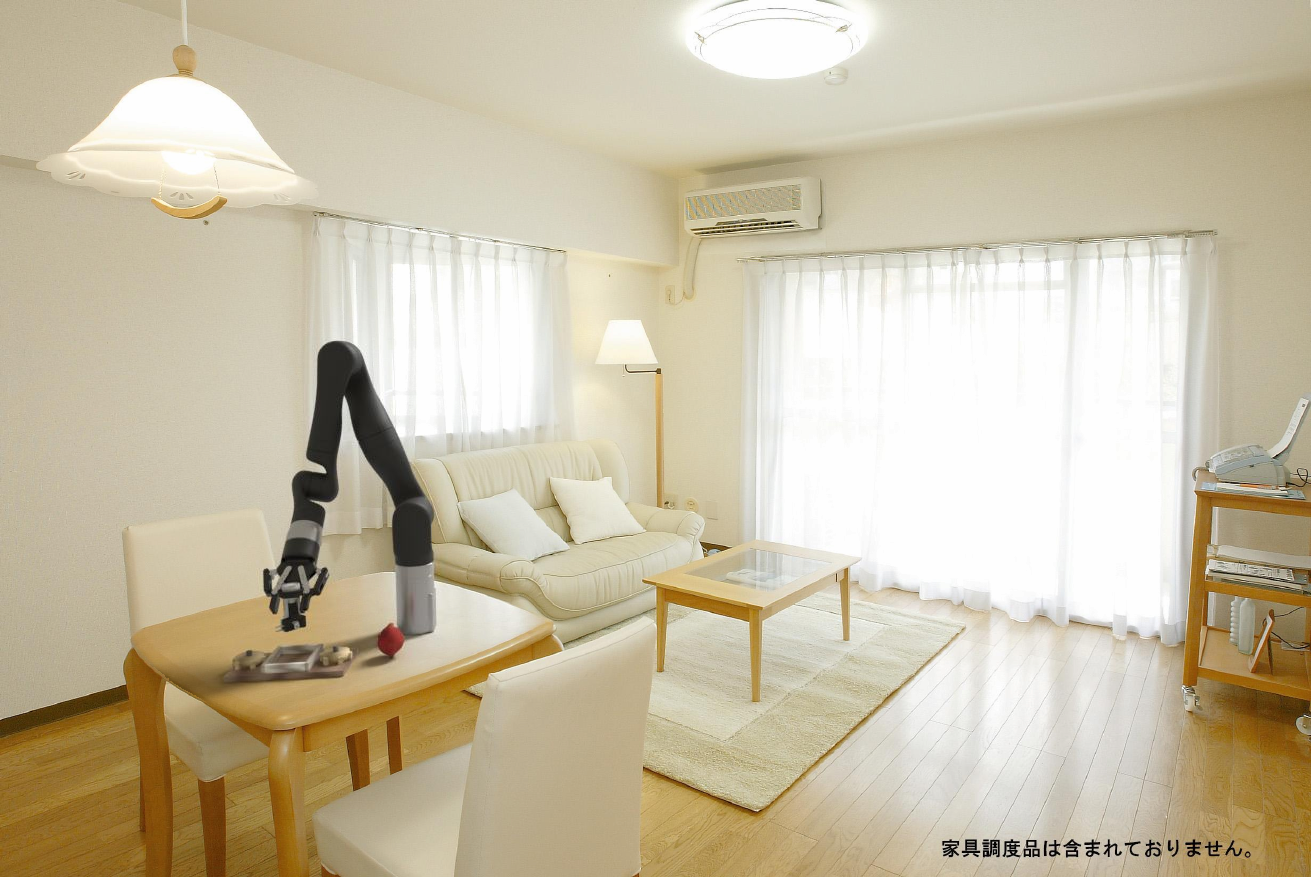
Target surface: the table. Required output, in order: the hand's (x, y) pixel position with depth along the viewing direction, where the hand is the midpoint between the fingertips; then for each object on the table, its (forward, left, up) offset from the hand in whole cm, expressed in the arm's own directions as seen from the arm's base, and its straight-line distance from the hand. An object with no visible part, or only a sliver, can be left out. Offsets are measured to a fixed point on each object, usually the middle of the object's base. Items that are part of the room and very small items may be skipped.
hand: (288, 612), depth 166 cm
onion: (-20, -5, -13) cm, 25 cm away
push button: (0, -2, -5) cm, 5 cm away
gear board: (0, -2, -13) cm, 13 cm away
